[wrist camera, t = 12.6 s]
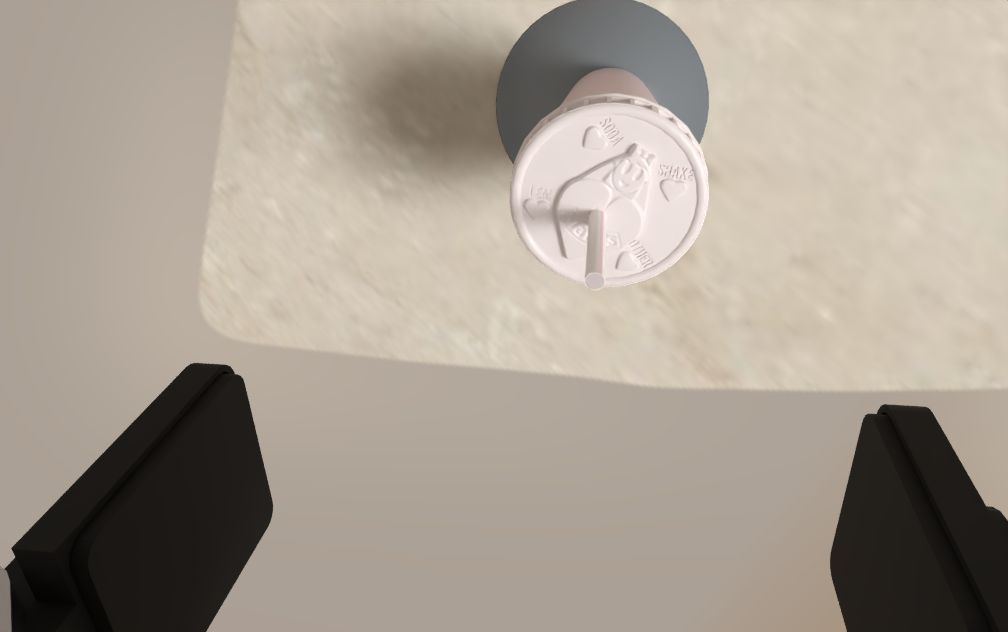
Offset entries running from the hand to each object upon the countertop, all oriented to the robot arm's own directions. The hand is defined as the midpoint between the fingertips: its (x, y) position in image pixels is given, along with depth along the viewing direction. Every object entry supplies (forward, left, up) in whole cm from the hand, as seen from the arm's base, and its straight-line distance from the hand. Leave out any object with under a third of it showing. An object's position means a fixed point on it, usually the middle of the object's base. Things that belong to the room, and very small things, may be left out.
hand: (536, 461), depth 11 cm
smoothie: (0, 0, -24) cm, 24 cm away
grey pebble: (0, 0, -25) cm, 25 cm away
